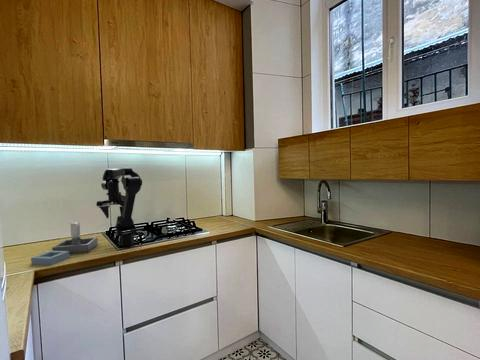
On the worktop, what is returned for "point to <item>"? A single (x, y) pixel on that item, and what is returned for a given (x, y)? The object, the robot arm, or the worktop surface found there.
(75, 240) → the stop pin
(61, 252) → the socket block
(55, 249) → the tray
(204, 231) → the worktop surface
